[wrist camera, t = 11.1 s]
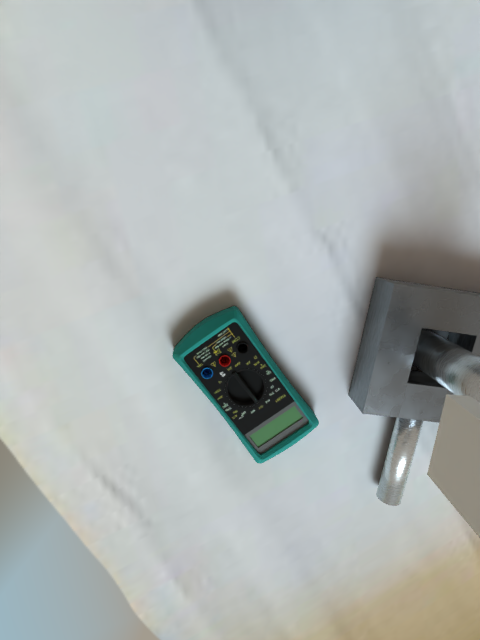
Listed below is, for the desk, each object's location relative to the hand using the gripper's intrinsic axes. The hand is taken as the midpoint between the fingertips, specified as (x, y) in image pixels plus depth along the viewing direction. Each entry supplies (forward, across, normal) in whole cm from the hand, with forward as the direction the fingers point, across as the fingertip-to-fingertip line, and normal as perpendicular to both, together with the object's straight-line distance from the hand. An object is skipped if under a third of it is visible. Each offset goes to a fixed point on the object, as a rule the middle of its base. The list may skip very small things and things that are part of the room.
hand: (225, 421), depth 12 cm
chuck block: (+27, +20, -10) cm, 35 cm away
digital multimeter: (+28, +4, -10) cm, 30 cm away
